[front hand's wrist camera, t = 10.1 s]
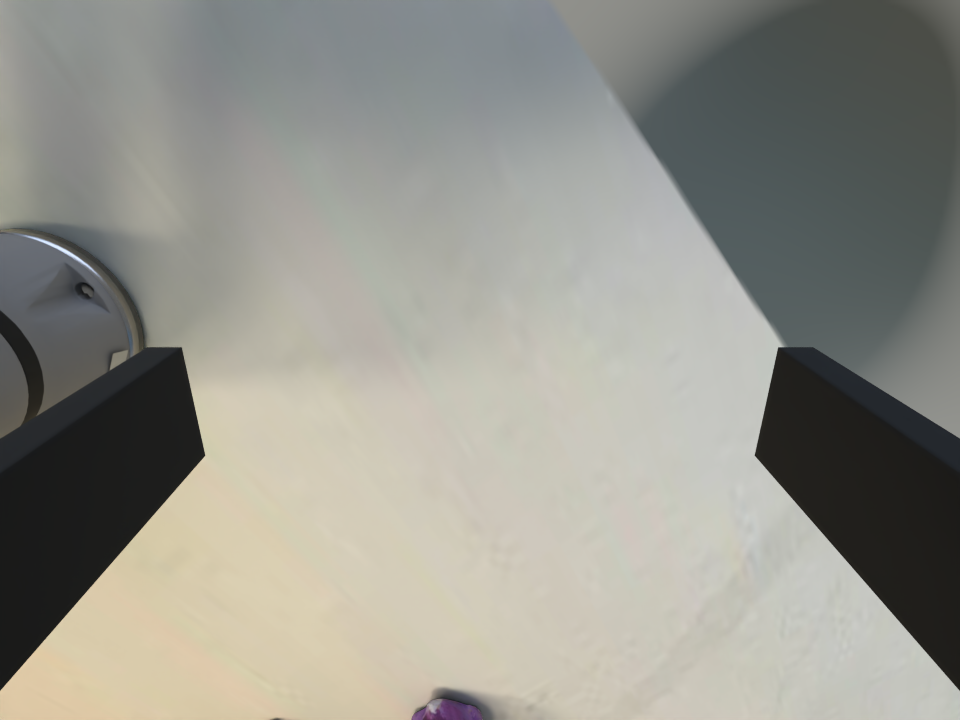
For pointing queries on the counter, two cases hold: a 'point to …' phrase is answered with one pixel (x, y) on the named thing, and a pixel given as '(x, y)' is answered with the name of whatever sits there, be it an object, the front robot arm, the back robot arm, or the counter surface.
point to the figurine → (447, 711)
